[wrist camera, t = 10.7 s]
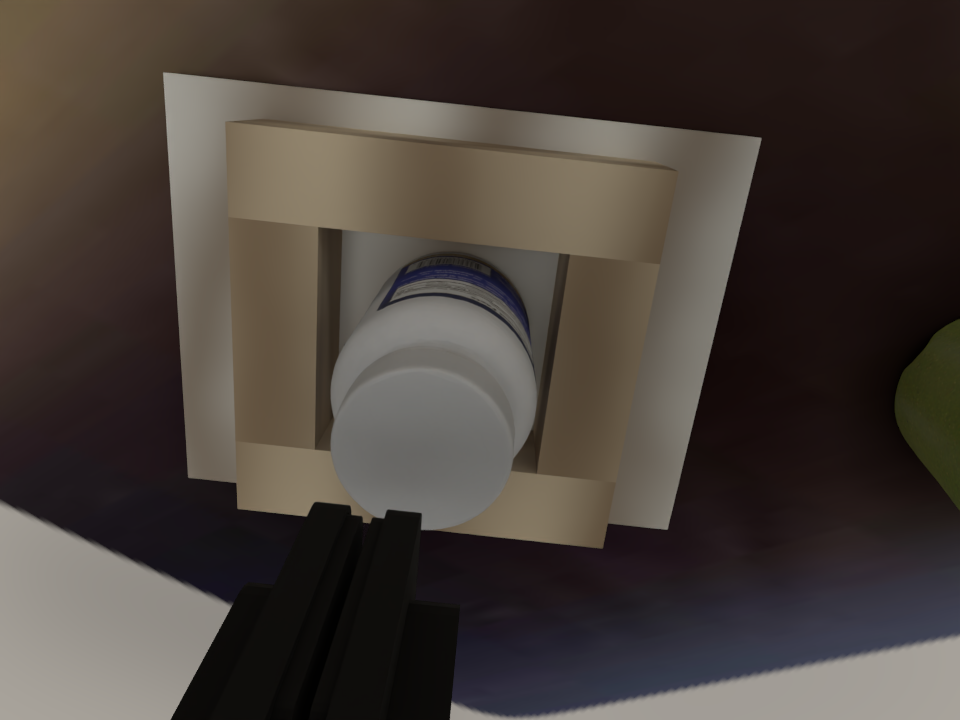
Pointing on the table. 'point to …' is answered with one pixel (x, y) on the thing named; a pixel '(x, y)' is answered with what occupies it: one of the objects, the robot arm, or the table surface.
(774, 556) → the table surface
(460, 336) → the pill bottle
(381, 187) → the frame
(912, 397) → the plant pot
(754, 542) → the table surface
